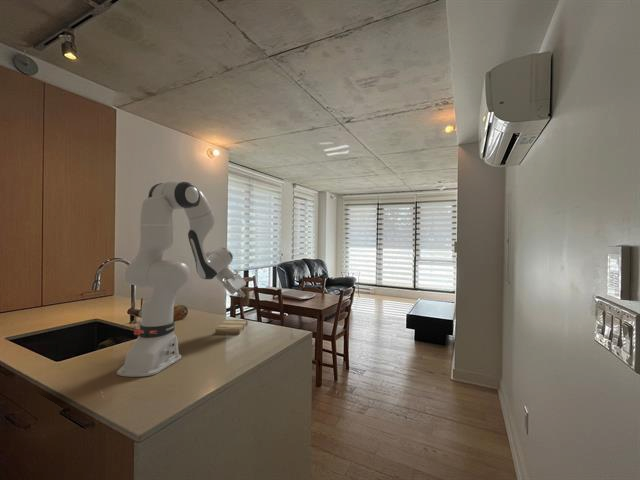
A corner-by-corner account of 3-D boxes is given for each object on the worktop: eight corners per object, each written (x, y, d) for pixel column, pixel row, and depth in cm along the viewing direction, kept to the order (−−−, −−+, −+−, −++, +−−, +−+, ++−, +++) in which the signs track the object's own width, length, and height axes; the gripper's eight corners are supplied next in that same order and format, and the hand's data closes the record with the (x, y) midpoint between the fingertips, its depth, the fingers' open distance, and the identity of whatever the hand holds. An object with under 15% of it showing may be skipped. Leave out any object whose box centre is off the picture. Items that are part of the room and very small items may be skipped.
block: (247, 305, 151) (247, 288, 151) (240, 305, 151) (240, 288, 151) (249, 303, 155) (249, 287, 154) (242, 303, 155) (242, 286, 154)
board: (239, 334, 145) (239, 329, 145) (215, 333, 145) (215, 328, 145) (247, 324, 161) (247, 320, 161) (226, 324, 161) (226, 319, 161)
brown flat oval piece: (161, 324, 160) (161, 308, 160) (159, 323, 162) (159, 308, 162) (188, 318, 172) (188, 304, 172) (185, 317, 174) (185, 303, 174)
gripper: (225, 275, 142) (245, 295, 142) (237, 270, 163) (254, 287, 163) (216, 284, 142) (236, 304, 142) (229, 278, 163) (246, 295, 163)
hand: (246, 295), depth 153 cm, fingers closed on block, 4 cm apart
